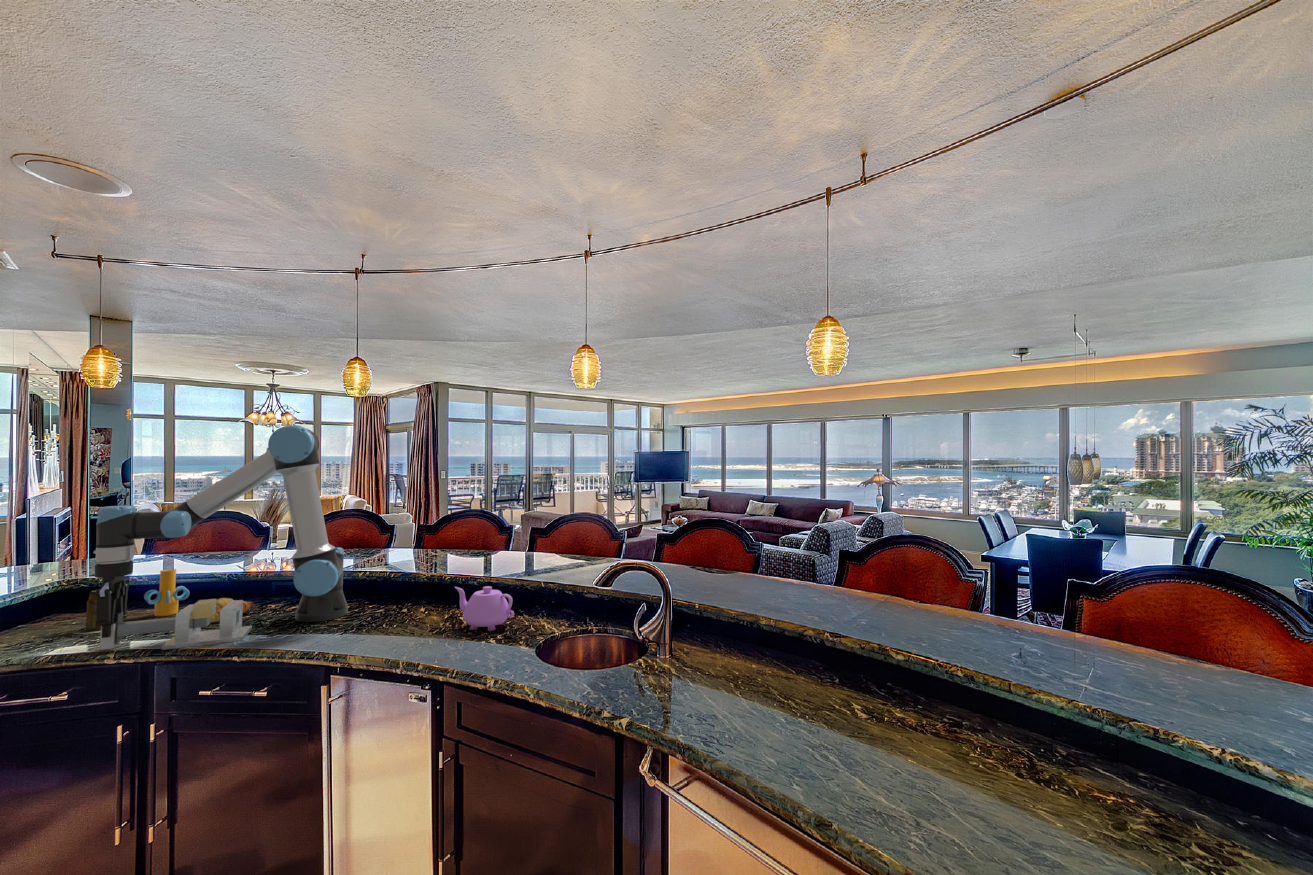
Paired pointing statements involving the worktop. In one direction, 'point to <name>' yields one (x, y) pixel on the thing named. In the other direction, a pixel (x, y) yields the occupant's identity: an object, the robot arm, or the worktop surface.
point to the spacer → (204, 608)
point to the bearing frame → (196, 637)
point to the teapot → (485, 608)
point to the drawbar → (149, 625)
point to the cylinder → (166, 594)
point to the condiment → (91, 615)
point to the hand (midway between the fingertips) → (110, 646)
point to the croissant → (223, 602)
